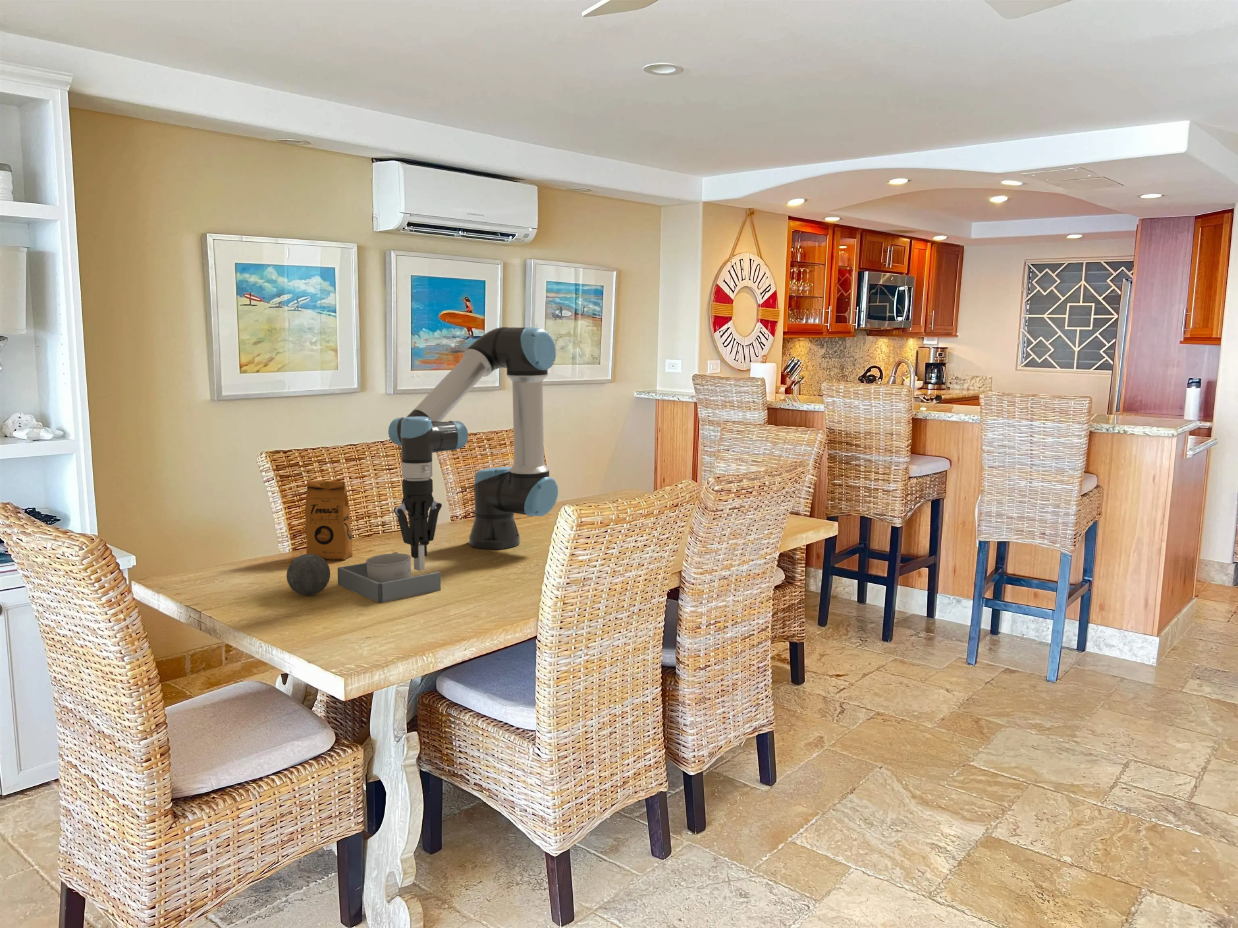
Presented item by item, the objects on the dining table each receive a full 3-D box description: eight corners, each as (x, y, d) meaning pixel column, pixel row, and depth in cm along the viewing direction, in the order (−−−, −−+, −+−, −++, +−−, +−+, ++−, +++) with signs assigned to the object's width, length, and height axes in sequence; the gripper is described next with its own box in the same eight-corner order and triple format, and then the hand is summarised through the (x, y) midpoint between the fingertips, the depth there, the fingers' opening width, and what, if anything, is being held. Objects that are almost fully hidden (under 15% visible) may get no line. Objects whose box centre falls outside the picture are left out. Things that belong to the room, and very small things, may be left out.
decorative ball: (327, 599, 221) (326, 558, 219) (283, 601, 219) (282, 559, 218) (333, 588, 231) (332, 548, 229) (291, 589, 229) (289, 549, 228)
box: (397, 573, 245) (397, 557, 244) (440, 589, 230) (440, 572, 230) (338, 584, 234) (337, 567, 233) (379, 602, 219) (379, 584, 218)
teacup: (401, 596, 225) (400, 564, 224) (358, 593, 227) (358, 561, 225) (423, 581, 238) (422, 550, 237) (383, 578, 240) (382, 548, 239)
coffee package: (345, 562, 256) (343, 483, 253) (301, 561, 257) (298, 482, 254) (358, 554, 266) (356, 478, 263) (315, 552, 267) (313, 476, 264)
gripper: (402, 483, 227) (404, 576, 230) (447, 477, 236) (449, 567, 239) (386, 479, 232) (389, 570, 236) (431, 473, 241) (433, 562, 245)
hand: (419, 569), depth 238 cm, fingers closed
